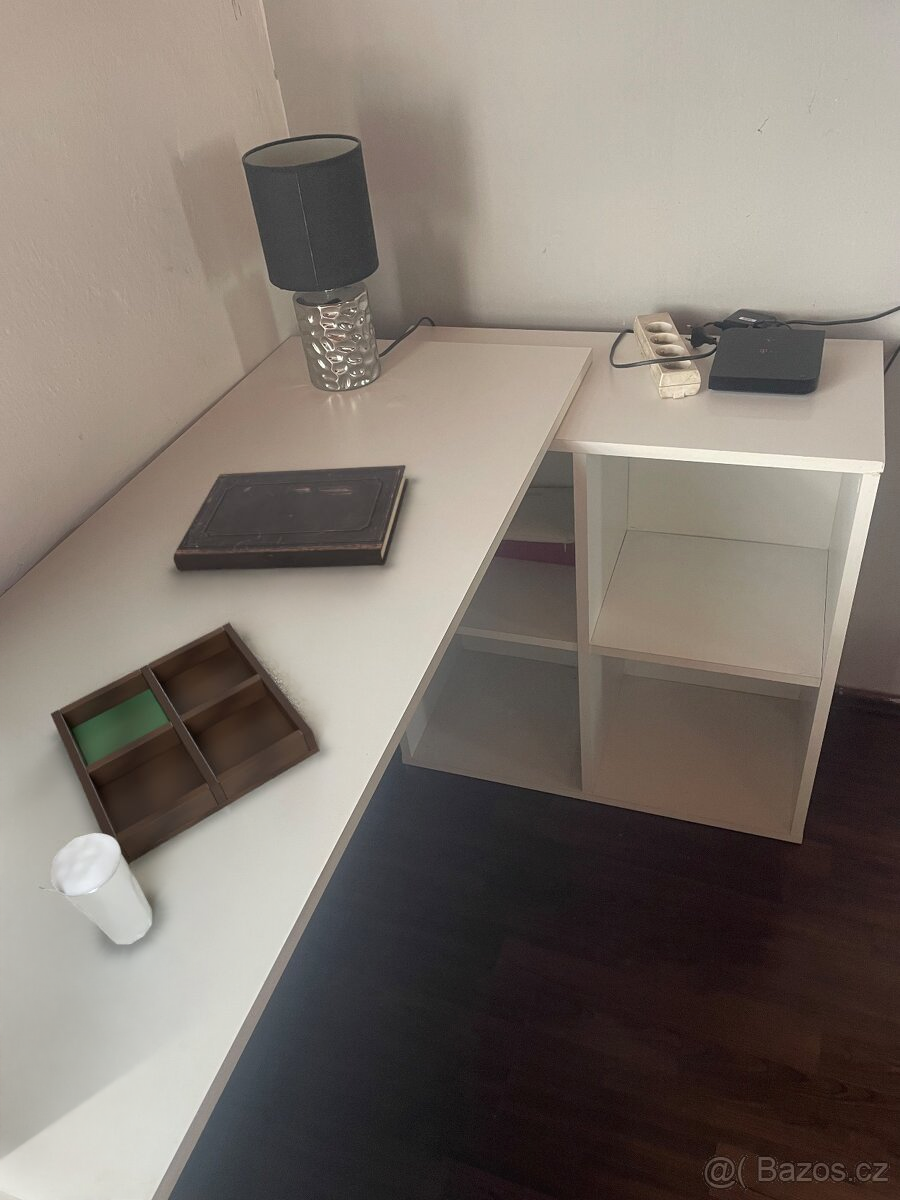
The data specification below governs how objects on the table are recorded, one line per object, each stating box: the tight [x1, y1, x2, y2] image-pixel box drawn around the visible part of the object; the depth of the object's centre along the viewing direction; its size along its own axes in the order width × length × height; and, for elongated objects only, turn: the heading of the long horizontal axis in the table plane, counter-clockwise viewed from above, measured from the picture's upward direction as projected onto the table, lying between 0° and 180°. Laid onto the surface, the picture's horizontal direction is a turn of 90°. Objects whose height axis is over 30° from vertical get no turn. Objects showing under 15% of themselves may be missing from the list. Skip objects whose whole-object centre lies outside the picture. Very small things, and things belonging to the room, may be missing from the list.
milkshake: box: [38, 832, 153, 945], centre depth 59 cm, size 4×5×10 cm
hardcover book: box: [173, 464, 409, 572], centre depth 97 cm, size 16×23×2 cm
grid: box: [50, 621, 320, 865], centre depth 74 cm, size 17×17×3 cm
